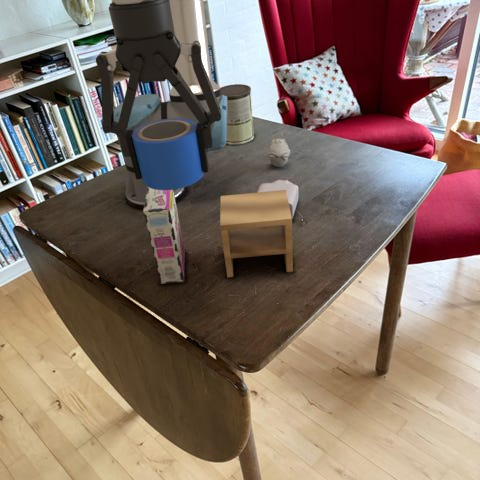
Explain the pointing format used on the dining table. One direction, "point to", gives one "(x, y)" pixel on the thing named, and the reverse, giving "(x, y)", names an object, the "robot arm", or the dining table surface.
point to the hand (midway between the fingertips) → (172, 172)
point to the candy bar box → (165, 234)
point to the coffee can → (238, 113)
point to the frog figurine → (278, 152)
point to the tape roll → (168, 153)
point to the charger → (283, 185)
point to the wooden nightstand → (256, 226)
